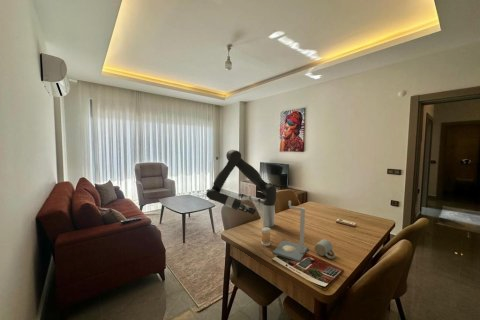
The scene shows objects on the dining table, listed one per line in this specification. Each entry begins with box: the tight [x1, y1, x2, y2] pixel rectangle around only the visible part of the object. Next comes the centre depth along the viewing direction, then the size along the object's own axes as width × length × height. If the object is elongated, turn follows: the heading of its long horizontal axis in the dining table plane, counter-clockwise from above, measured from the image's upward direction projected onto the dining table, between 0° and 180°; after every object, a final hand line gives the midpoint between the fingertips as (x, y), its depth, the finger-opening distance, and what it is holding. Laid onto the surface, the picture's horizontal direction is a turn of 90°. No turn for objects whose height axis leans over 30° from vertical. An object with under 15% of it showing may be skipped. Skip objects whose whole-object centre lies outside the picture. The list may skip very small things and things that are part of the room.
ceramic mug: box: [314, 238, 336, 260], centre depth 119 cm, size 11×8×8 cm
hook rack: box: [272, 200, 309, 263], centre depth 122 cm, size 18×16×31 cm
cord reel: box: [260, 226, 271, 247], centre depth 132 cm, size 6×6×10 cm
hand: (254, 212), depth 137 cm, fingers open, 8 cm apart
